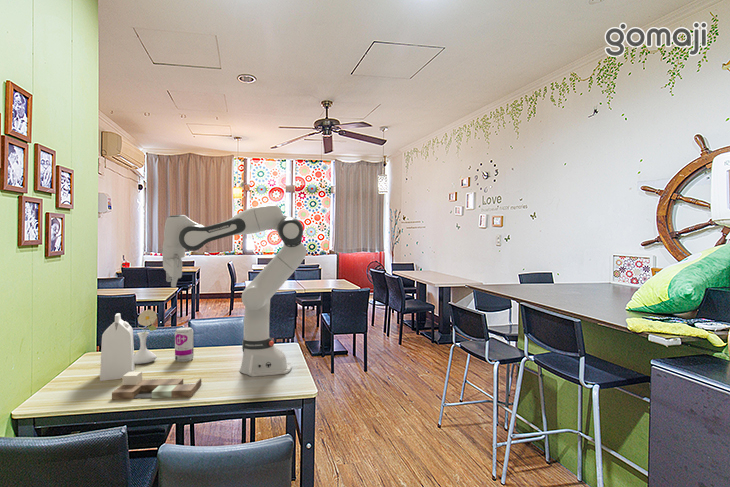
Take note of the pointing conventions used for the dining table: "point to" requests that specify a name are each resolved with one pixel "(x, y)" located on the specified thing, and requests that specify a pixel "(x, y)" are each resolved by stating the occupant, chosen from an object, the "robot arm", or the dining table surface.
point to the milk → (117, 350)
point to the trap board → (156, 389)
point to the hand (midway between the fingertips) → (170, 284)
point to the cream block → (132, 378)
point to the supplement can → (183, 344)
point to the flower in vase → (144, 353)
